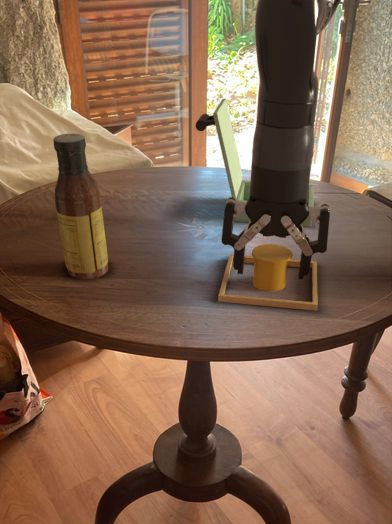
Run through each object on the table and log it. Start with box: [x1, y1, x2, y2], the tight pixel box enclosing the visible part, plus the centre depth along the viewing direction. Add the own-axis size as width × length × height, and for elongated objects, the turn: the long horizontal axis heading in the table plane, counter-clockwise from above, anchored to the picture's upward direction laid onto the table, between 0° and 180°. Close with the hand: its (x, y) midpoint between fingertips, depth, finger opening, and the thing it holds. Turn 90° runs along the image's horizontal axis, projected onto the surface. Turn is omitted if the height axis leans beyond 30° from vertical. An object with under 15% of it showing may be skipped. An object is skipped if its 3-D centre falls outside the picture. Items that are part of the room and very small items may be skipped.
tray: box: [217, 254, 318, 311], centre depth 81 cm, size 13×13×2 cm
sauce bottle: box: [53, 133, 109, 280], centre depth 79 cm, size 7×6×20 cm
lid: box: [195, 97, 244, 199], centre depth 100 cm, size 14×12×5 cm
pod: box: [251, 243, 293, 293], centre depth 80 cm, size 6×6×5 cm
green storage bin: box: [234, 179, 315, 228], centre depth 104 cm, size 14×12×4 cm
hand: (270, 274), depth 81 cm, fingers open, 8 cm apart
